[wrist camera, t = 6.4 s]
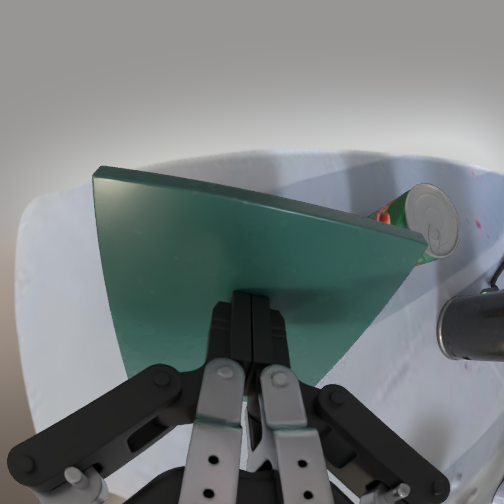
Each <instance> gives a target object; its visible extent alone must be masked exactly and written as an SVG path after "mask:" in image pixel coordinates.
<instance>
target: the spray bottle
mask: <svg viewBox="0 0 504 504" xmlns="http://www.w3.org/2000/svg"><path fill="white" fill-rule="evenodd" d="M493 504H504V481H503V482H502V483H501V485H500V487H499V488H498V490H497V492H496V494H495V496H494V499H493Z"/></svg>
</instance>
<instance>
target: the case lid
mask: <svg viewBox="0 0 504 504" xmlns="http://www.w3.org/2000/svg"><path fill="white" fill-rule="evenodd" d="M92 183H93V196H94V208H95V217H96V226H97V235H98V242H99V249H100V256H101V263H102V269H103V275H104V280H105V286H106V291H107V296H108V301H109V306H110V311H111V315H112V320H113V324H114V328H115V332H116V336H117V340H118V344H119V348H120V352H121V356H122V359H123V363H124V366H125V370H126V373H127V377H128V379H130V378H131V377H133V376H135V375H136V374H138V373H139V372H141V371H143V370H144V369H146V368H147V367H149V366H151V365H154V364H167V365H170V366H172V367H174V368H175V369H177V370H178V371H179V372H186V371H193V370H196V369H198V368H200V367H201V366H202V365H203V364H204V363H205V356H206V348H207V339H208V332H209V327H210V321H211V316H212V311H213V308H214V307H215V305H216V304H217V303H218V302H219V301H222V302H228V303H230V300H231V296H232V292H233V291H237V292H243V293H249V294H250V295H251V294H255V295H262V296H268V297H269V304H270V309H273V310H279V312H280V313H281V315H282V316H283V318H284V319H285V327H286V334H287V342H288V350H289V358H290V366H291V370H292V371H293V372H294V373H295V374H296V376H297V378H298V379H299V380H300V381H301V382H303V383H305V384H307V385H310V386H313V387H314V386H315V385H316V384H317V383H318V382H319V381H320V380H321V379H322V378H323V377H324V376H325V375H326V374H327V373H328V372H329V371H330V370H331V369H332V367H333V366H334V365H335V364H336V363H337V362H338V361H339V360H340V359H341V358H342V357H343V355H344V354H345V353H346V352H347V351H348V350H349V349H350V348H351V346H352V345H353V344H354V343H355V342H356V341H357V339H358V338H359V337H360V336H361V335H362V334H363V332H364V331H365V330H366V329H367V328H368V326H369V325H370V324H371V323H372V322H373V320H374V319H375V318H376V317H377V315H378V314H379V313H380V312H381V310H382V309H383V308H384V307H385V305H386V304H387V303H388V301H389V300H390V299H391V298H392V296H393V295H394V294H395V292H396V291H397V290H398V288H399V287H400V286H401V284H402V283H403V281H404V280H405V279H406V277H407V276H408V275H409V273H410V272H411V270H412V269H413V268H414V266H415V265H416V263H417V262H418V260H419V259H420V257H421V256H422V255H423V253H424V252H425V250H426V249H427V247H428V243H427V241H426V240H425V238H424V236H423V234H422V233H419V232H415V231H412V230H409V229H405V228H402V227H398V226H395V225H391V224H387V223H384V222H380V221H376V220H373V219H369V218H365V217H361V216H358V215H354V214H350V213H346V212H342V211H338V210H334V209H330V208H326V207H322V206H318V205H313V204H309V203H305V202H301V201H296V200H292V199H287V198H283V197H278V196H274V195H269V194H265V193H260V192H255V191H250V190H245V189H240V188H235V187H230V186H225V185H220V184H215V183H209V182H204V181H198V180H193V179H187V178H181V177H176V176H170V175H163V174H157V173H151V172H144V171H138V170H131V169H124V168H117V167H109V166H100V167H99V168H98V169H97V170H96V172H95V173H94V174H93V175H92ZM243 401H246V402H247V396H243Z"/></svg>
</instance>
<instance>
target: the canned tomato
mask: <svg viewBox="0 0 504 504" xmlns="http://www.w3.org/2000/svg"><path fill="white" fill-rule="evenodd" d="M366 218H369V219H373V220H376V221H380V222H384V223H387V224H391V225H395V226H398V227H402V228H405V229H409V230H412V231H415V232H419V233H422V234H423V236H424V238H425V240H426V241H427V243H428V247H427V249H426V250H425V252H424V253H423V255H422V256H421V257H420V259H419V260H418V262H417V263H416V265H415V266H418V265H421V264H424V263H427V262H431V261H434V260H437V259H440V258H445V257H448V256H449V255H451V254H452V253H453V252H454V251H455V249H456V248H457V245H458V243H459V238H460V225H459V219H458V215H457V213H456V210H455V208H454V206H453V204H452V202H451V201H450V199H449V198H448V197H447V195H446V194H445V193H444V192H443V191H442V190H440V189H439V188H438V187H436V186H434V185H432V184H428V183H421V184H417V185H416V186H414V187H413V188H412V189H411V190H409V191H407V192H405V193H404V194H402V195H401V196H399V197H398V198H396V199H395V200H393V201H392V202H390V203H388V204H387V205H385V206H384V207H382V208H381V209H379V210H378V211H376V212H374V213H373V214H371V215H370V216H368V217H366Z"/></svg>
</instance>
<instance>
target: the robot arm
mask: <svg viewBox="0 0 504 504" xmlns="http://www.w3.org/2000/svg"><path fill="white" fill-rule="evenodd" d="M503 269H504V262H503V263H502V265H501V266H500V267H499V269H498V270H497V272H496V273H495V275H494V276H493V278H492V281H491V288H487V289H483V290H482V292H481V293H480V294H475V295H469V296H464V297H463V296H459V297H454V298H452V299H450V300H449V301H448V302H447V303H446V304H445V306H444V307H443V309H442V311H441V313H440V316H439V320H438V327H437V336H438V343H439V346H440V349H441V351H442V352H443V354H444V355H445V356H446V357H447V358H449V359H452V360H465V361H468V360H475V361H498V362H504V289H502V290H499V289H498V287H497V286H496V285H495V283H496V280H497V278H498V277H499V275H500V274H501V272H502V271H503ZM470 362H474V361H470ZM243 396H247V407H246V409H245V424H246V435H247V446H248V459H247V466H246V471H245V470H241V469H239V465H240V454H241V444H242V426H241V423H240V422H241V411H242V401H243ZM191 423H194V424H193V429H192V434H191V439H190V444H189V450H188V455H187V460H186V465H185V466H182V467H177V468H173V469H170V470H168V471H165V472H163V473H161V474H160V475H158V476H157V477H155V478H154V479H153V480H151V481H150V482H149V483H148V484H147V485H145V486H144V487H143V488H142V489H140V490H139V491H138V492H137V493H135V494H134V495H133V496H132V497H130V498H129V499H128V500H126V501H125V502H124V503H123V504H354V503H353V502H352V501H351V500H350V499H349V498H348V497H347V496H346V495H345V494H344V493H343V492H342V491H341V490H340V489H339V488H338V487H337V486H336V485H335V484H333V483H332V482H331V481H329V477H328V473H327V469H328V470H329V471H330V472H331V473H332V474H333V475H334V476H335V477H336V478H337V479H338V480H340V481H341V482H342V483H343V484H344V485H345V486H346V487H347V488H348V489H349V490H351V491H352V492H353V493H354V494H355V495H356V496H357V497H358V498H360V502H359V504H440V503H442V502H444V501H445V500H446V499H447V497H448V496H449V493H450V484H449V481H448V479H447V478H446V476H445V475H443V474H442V473H441V472H440V471H439V470H437V469H436V468H435V467H434V466H433V465H432V464H430V463H429V462H428V461H427V460H426V459H424V458H423V457H422V456H421V455H420V454H419V453H417V452H416V451H415V450H414V449H413V448H412V447H411V446H409V445H408V444H407V443H406V442H405V441H404V440H403V439H401V438H400V437H399V436H398V435H397V434H396V433H395V432H393V431H392V430H391V429H390V428H389V427H388V426H387V425H385V424H384V423H383V422H382V421H381V420H380V419H379V418H378V417H377V416H375V415H374V414H373V413H372V412H371V411H370V410H369V409H368V408H367V407H365V406H364V405H363V404H362V403H361V402H360V401H359V400H358V399H357V398H356V397H354V396H353V395H352V394H351V393H350V392H349V391H348V390H347V389H345V388H344V387H342V386H340V385H336V384H329V385H326V386H324V387H323V388H322V389H319V388H316V387H313V386H310V385H307V384H305V383H303V382H301V381H300V380H299V379H298V378H297V376H296V374H295V373H294V372H293V371H292V370H291V366H290V358H289V350H288V342H287V334H286V327H285V319H284V318H283V316H282V315H281V313H280V312H279V310H273V309H270V304H269V297H268V296H262V295H255V294H251V295H250V294H249V293H243V292H237V291H233V292H232V296H231V300H230V303H228V302H222V301H219V302H218V303H217V304H216V305H215V307H214V308H213V311H212V316H211V321H210V327H209V332H208V339H207V348H206V356H205V363H204V364H203V365H202V366H201V367H200V368H198V369H196V370H193V371H186V372H179V371H178V370H177V369H175V368H174V367H172V366H170V365H167V364H154V365H151V366H149V367H147V368H146V369H144V370H143V371H141V372H139V373H138V374H136V375H135V376H133V377H131V378H130V379H128V380H127V381H125V382H123V383H122V384H120V385H119V386H117V387H115V388H114V389H112V390H111V391H109V392H107V393H106V394H104V395H102V396H101V397H99V398H97V399H96V400H94V401H93V402H91V403H89V404H88V405H86V406H84V407H83V408H81V409H79V410H78V411H76V412H74V413H72V414H71V415H69V416H67V417H66V418H64V419H62V420H61V421H59V422H57V423H55V424H54V425H52V426H50V427H48V428H47V429H45V430H43V431H41V432H40V433H38V434H36V435H34V436H33V437H31V438H30V439H27V440H26V441H24V442H22V443H20V444H18V445H17V446H15V447H14V448H12V449H11V451H10V452H9V454H8V458H7V465H8V469H9V472H10V473H11V475H12V476H13V478H14V479H15V480H16V481H17V482H19V483H20V484H22V485H23V486H25V487H26V488H27V489H28V490H30V491H31V492H33V493H34V494H35V496H36V497H37V499H38V500H39V501H40V503H41V504H102V503H104V502H105V501H106V499H107V497H108V486H107V484H106V482H105V480H104V479H105V478H106V477H108V476H109V475H111V474H112V473H114V472H115V471H117V470H118V469H119V468H121V467H122V466H124V465H125V464H127V463H128V462H129V461H131V460H132V459H134V458H135V457H136V456H138V455H139V454H141V453H142V452H143V451H145V450H146V449H147V448H149V447H150V446H151V445H153V444H154V443H156V442H157V441H158V440H159V439H161V438H162V437H163V436H165V435H166V434H167V433H169V432H170V431H171V430H173V429H174V428H175V427H176V426H177V425H184V424H191Z"/></svg>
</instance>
